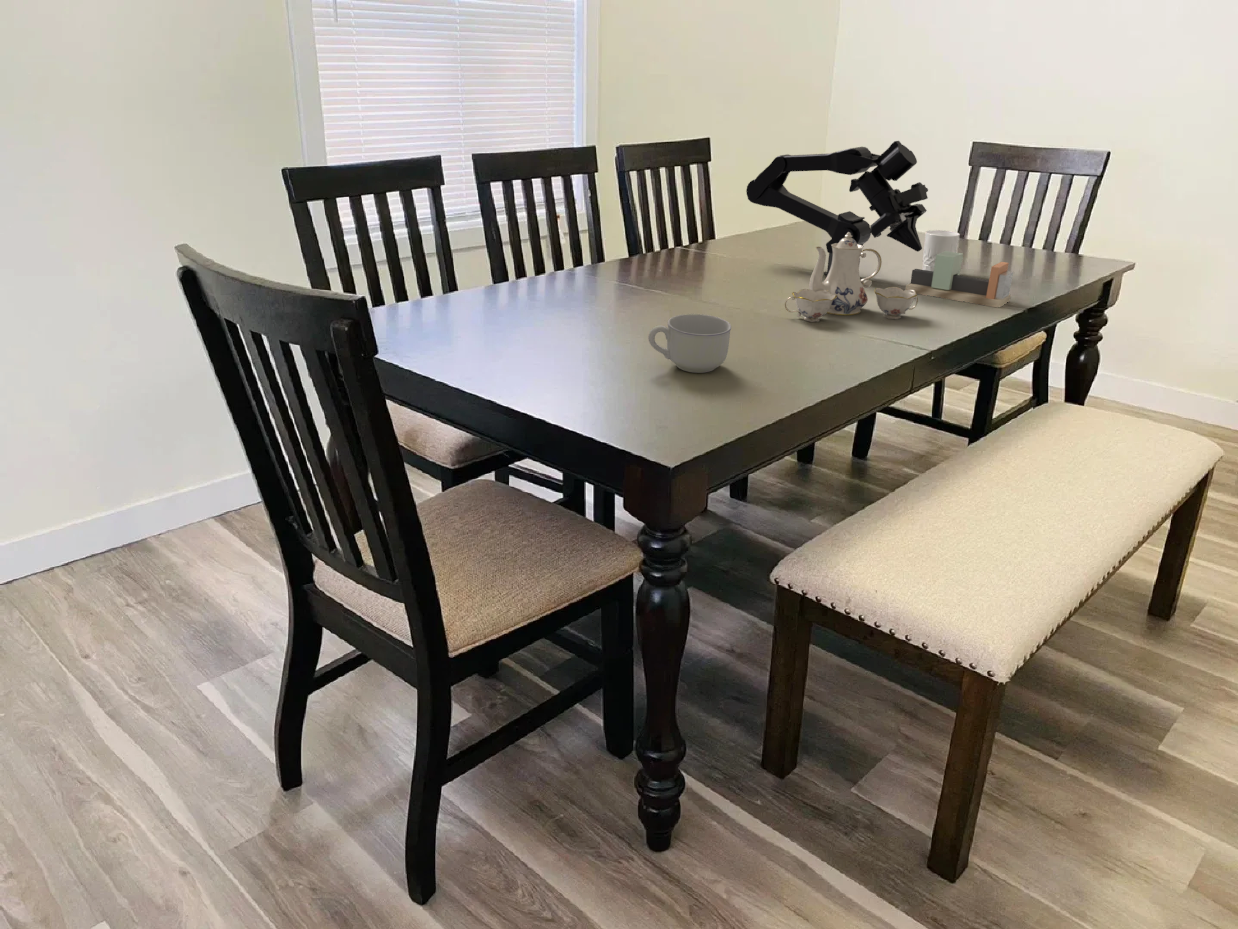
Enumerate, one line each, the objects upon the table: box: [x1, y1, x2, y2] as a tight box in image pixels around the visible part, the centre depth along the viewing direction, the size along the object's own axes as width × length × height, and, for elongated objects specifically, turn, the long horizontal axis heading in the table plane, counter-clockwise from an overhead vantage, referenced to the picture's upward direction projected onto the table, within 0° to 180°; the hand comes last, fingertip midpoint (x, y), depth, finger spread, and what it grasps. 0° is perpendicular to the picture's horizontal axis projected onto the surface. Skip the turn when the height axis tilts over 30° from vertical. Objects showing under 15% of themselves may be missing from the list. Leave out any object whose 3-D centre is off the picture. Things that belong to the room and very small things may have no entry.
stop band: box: [986, 261, 1010, 299], centre depth 198 cm, size 2×6×7 cm, turn 142°
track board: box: [905, 282, 1011, 308], centre depth 205 cm, size 21×7×2 cm, turn 52°
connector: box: [995, 270, 1014, 300], centre depth 198 cm, size 1×5×5 cm, turn 142°
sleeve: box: [931, 251, 964, 290], centre depth 204 cm, size 4×6×7 cm
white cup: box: [921, 229, 961, 271], centre depth 223 cm, size 8×8×10 cm
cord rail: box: [910, 268, 989, 296], centre depth 204 cm, size 20×2×3 cm, turn 52°
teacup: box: [648, 313, 732, 374], centre depth 155 cm, size 14×11×8 cm
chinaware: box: [784, 232, 919, 323], centre depth 187 cm, size 28×17×17 cm, turn 105°
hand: (920, 250), depth 207 cm, fingers closed
